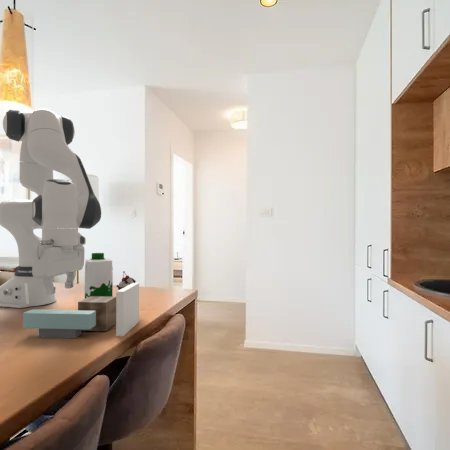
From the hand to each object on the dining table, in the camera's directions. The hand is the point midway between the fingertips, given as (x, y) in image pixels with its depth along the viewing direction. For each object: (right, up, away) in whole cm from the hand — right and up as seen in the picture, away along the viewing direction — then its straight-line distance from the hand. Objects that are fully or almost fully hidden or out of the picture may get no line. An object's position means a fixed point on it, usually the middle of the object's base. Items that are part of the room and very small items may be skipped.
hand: (60, 291), depth 94 cm
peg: (0, -10, 0) cm, 10 cm away
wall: (+16, -12, +8) cm, 22 cm away
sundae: (+12, -12, +21) cm, 27 cm away
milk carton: (+1, -12, +25) cm, 28 cm away
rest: (0, -12, 0) cm, 12 cm away
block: (+7, -12, +8) cm, 16 cm away
